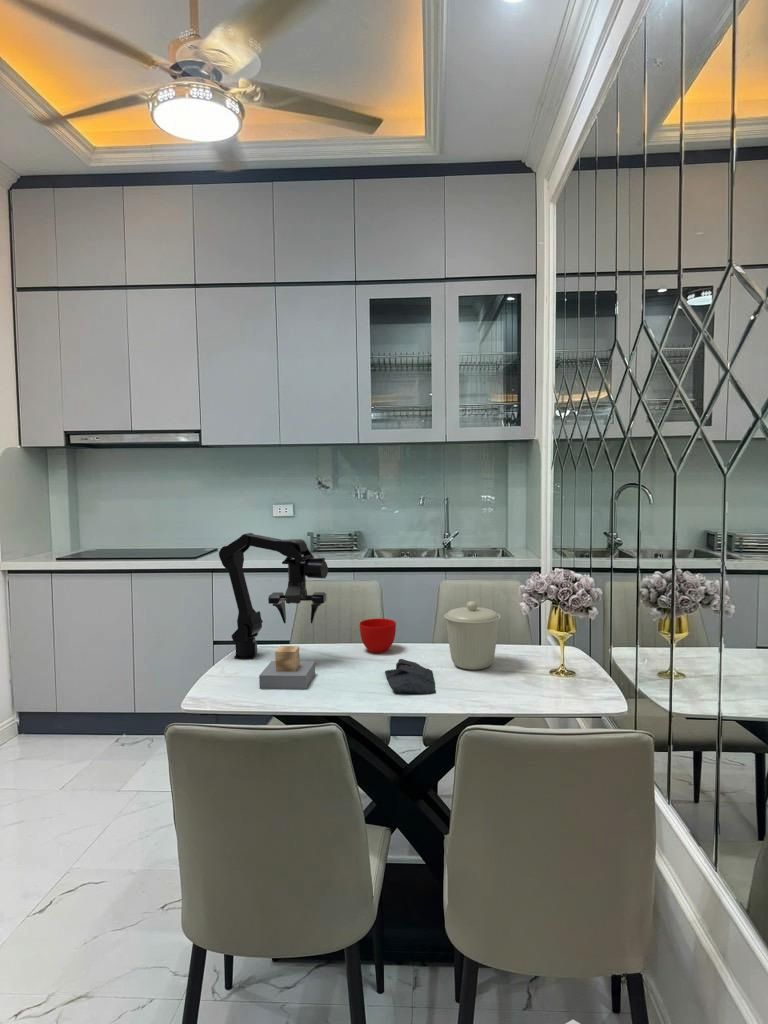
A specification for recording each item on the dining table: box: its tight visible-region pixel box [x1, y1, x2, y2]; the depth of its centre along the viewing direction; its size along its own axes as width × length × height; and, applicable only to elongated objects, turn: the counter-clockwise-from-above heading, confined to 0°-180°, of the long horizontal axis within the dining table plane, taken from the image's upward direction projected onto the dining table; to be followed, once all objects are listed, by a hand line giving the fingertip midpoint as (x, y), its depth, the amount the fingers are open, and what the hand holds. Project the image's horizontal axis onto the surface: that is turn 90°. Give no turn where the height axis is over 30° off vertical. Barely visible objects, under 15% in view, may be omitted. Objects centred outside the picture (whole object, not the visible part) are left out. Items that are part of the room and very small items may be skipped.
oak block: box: [274, 645, 301, 671], centre depth 191 cm, size 6×6×6 cm
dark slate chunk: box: [384, 658, 437, 695], centre depth 189 cm, size 15×22×5 cm
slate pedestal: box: [258, 660, 316, 690], centre depth 192 cm, size 14×14×4 cm
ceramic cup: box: [359, 618, 397, 654], centre depth 224 cm, size 13×17×10 cm
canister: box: [443, 600, 501, 671], centre depth 203 cm, size 18×18×21 cm
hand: (298, 623), depth 211 cm, fingers open, 9 cm apart
